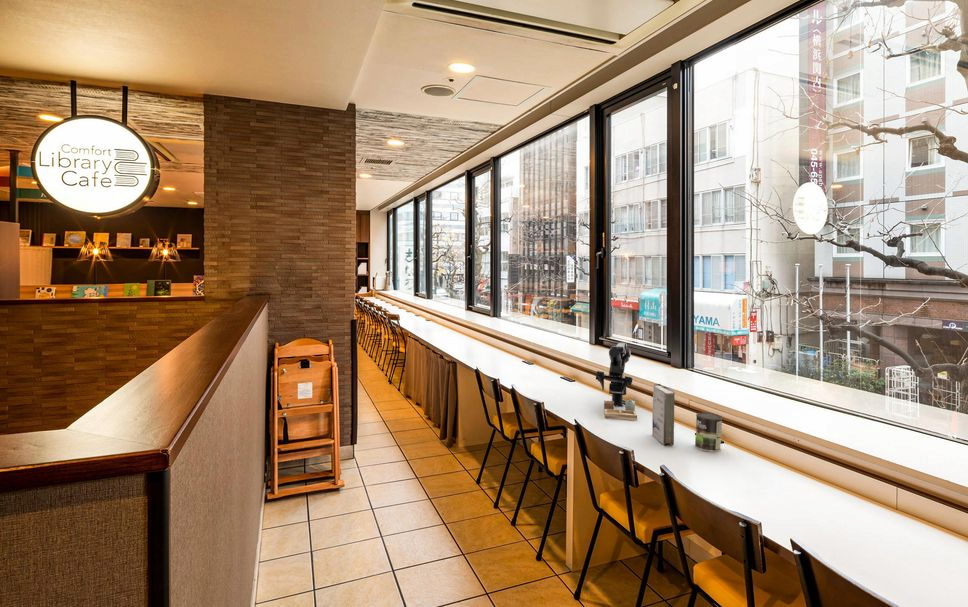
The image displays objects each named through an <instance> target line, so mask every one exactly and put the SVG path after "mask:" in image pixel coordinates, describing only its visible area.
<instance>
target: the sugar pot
mask: <svg viewBox="0 0 968 607" xmlns="http://www.w3.org/2000/svg"><path fill="white" fill-rule="evenodd" d="M624 402H625V403H624V406H625V408H624V410H628V411H636V401H635V400H633V399H627V400H625V401H624Z"/></svg>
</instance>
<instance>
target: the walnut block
mask: <svg viewBox="0 0 968 607" xmlns="http://www.w3.org/2000/svg"><path fill="white" fill-rule="evenodd" d="M604 409H614V410H615V406H614V401H612V400H604V401H603V410H604Z"/></svg>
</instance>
